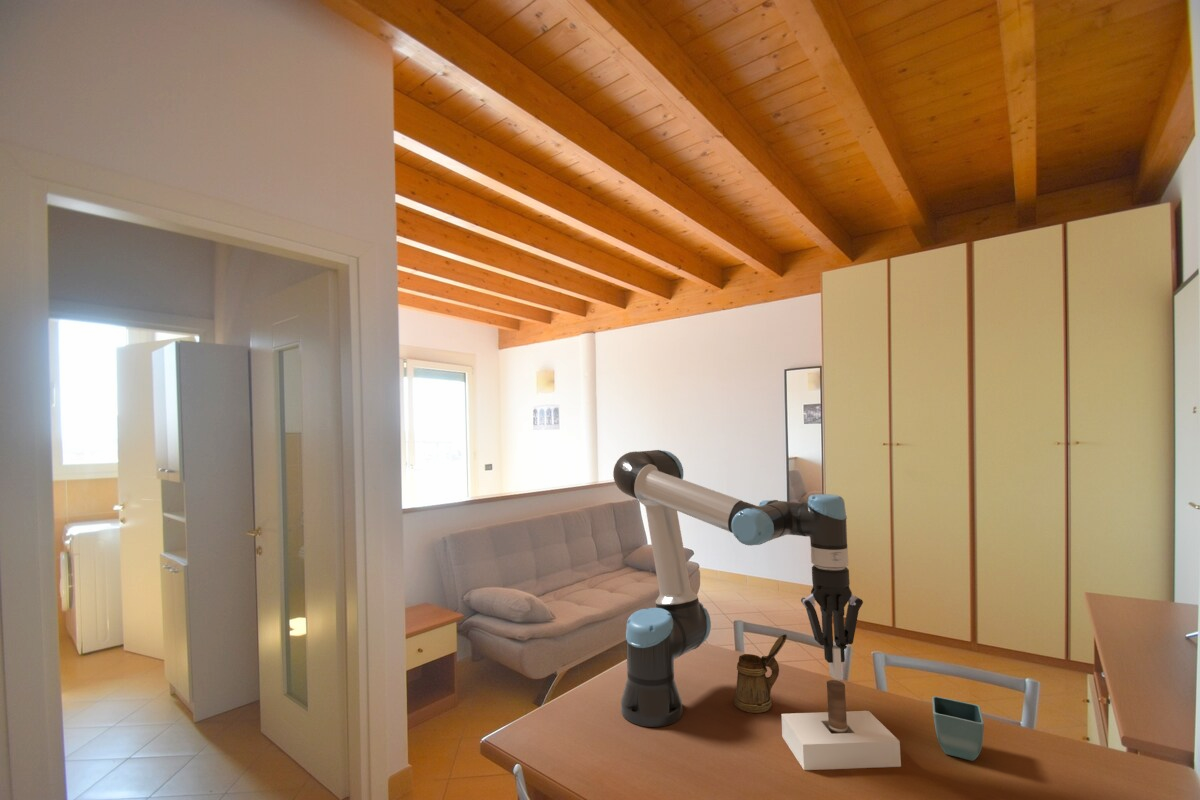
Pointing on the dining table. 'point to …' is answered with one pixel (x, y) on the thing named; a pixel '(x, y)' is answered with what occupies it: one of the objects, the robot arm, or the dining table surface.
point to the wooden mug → (757, 679)
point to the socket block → (840, 742)
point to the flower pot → (958, 727)
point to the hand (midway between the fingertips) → (835, 677)
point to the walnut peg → (836, 707)
